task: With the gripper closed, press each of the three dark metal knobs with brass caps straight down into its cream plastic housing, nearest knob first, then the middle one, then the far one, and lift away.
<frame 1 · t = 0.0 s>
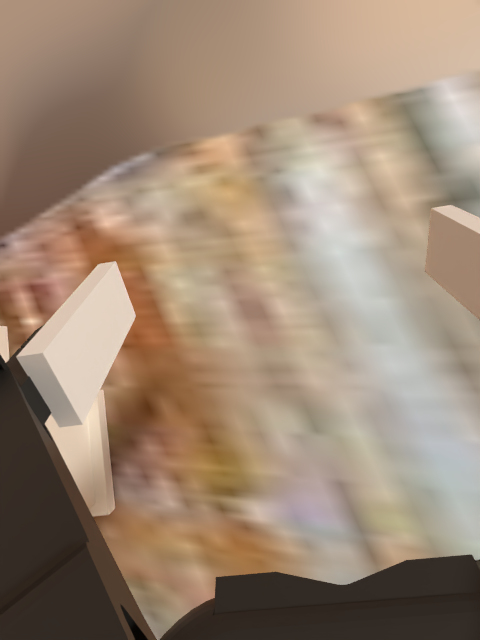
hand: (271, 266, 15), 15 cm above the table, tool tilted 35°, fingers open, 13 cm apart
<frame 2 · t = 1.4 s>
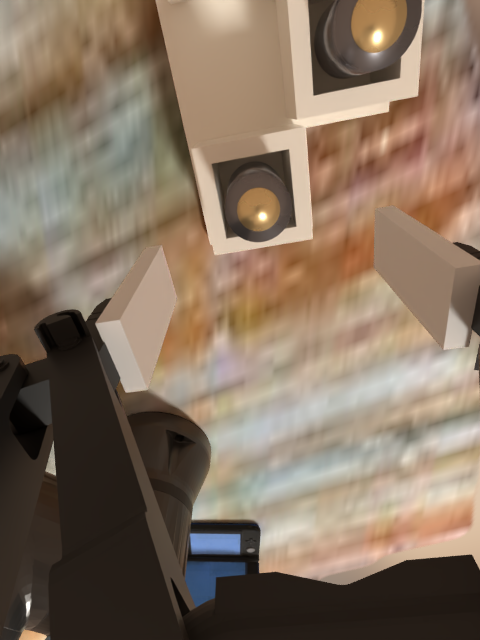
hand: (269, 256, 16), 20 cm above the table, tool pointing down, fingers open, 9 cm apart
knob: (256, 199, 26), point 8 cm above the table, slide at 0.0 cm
knob panel: (260, 64, 29), on the table
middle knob: (361, 30, 21), point 8 cm above the table, slide at 0.0 cm
handheld game console: (216, 540, 65), on the table
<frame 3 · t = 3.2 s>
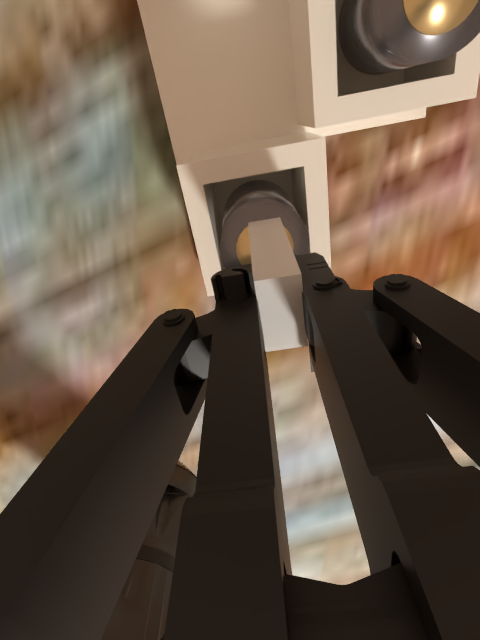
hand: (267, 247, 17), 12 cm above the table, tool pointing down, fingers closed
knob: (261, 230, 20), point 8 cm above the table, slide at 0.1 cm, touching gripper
knob panel: (265, 57, 23), on the table
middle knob: (408, 6, 15), point 8 cm above the table, slide at 0.0 cm
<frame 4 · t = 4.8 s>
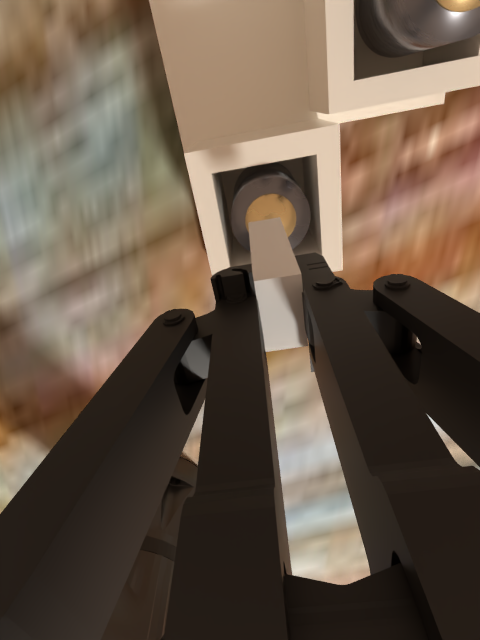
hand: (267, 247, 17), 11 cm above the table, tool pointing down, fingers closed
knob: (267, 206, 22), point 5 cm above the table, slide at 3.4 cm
knob panel: (277, 40, 22), on the table
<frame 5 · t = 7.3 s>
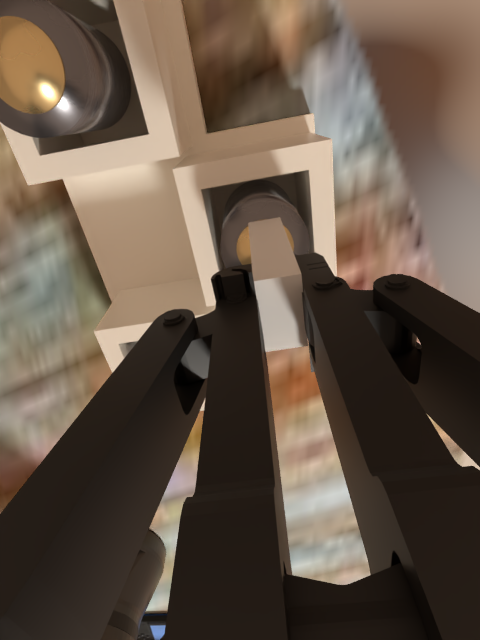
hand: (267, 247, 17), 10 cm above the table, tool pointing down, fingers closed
knob panel: (182, 216, 26), on the table
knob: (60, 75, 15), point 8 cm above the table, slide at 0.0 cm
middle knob: (261, 230, 20), point 7 cm above the table, slide at 1.5 cm, touching gripper
handheld game console: (180, 626, 63), on the table
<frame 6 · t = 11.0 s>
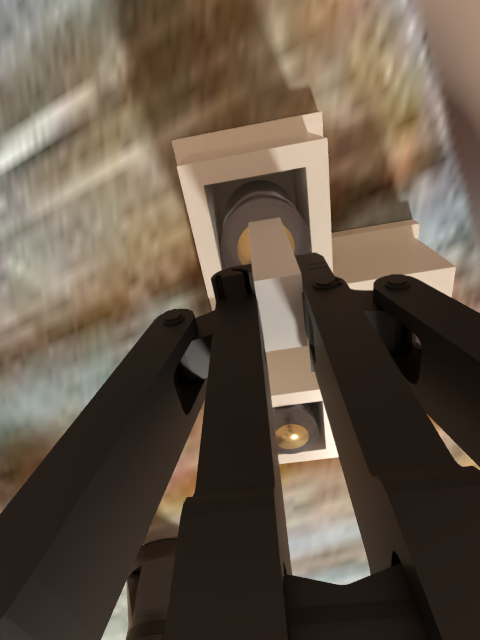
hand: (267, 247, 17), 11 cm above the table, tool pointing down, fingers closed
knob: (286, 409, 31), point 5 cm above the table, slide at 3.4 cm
knob panel: (292, 295, 31), on the table
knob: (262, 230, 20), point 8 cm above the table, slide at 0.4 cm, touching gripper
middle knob: (375, 313, 26), point 5 cm above the table, slide at 3.4 cm
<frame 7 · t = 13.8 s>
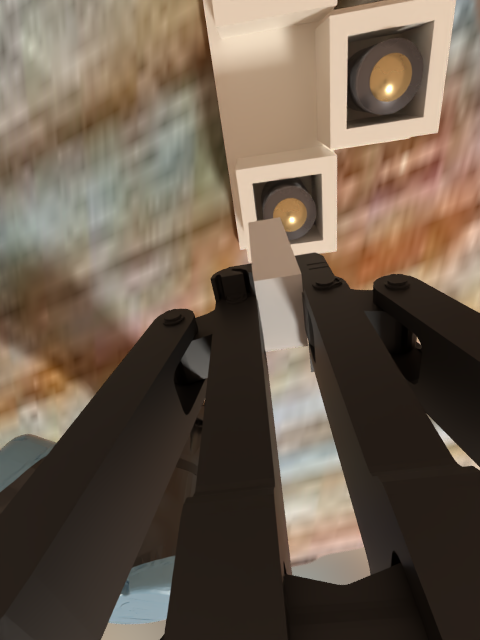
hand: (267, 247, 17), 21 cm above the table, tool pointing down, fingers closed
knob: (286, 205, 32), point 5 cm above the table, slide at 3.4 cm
knob panel: (297, 91, 32), on the table
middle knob: (377, 79, 27), point 5 cm above the table, slide at 3.4 cm
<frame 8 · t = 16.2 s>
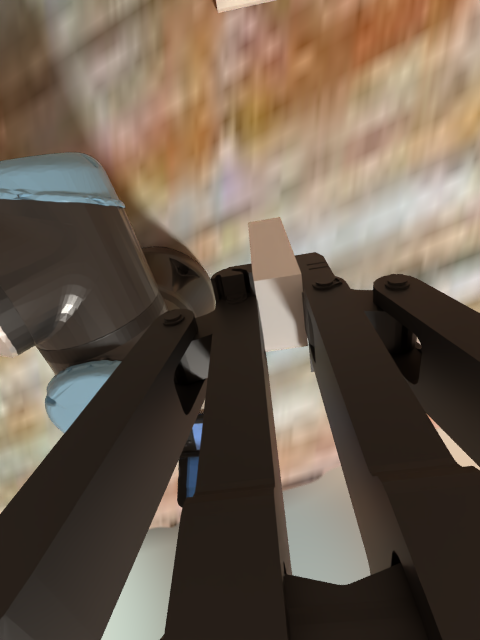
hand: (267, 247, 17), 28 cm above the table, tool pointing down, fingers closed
handheld game console: (220, 436, 66), on the table
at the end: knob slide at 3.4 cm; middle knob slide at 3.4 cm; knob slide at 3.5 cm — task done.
